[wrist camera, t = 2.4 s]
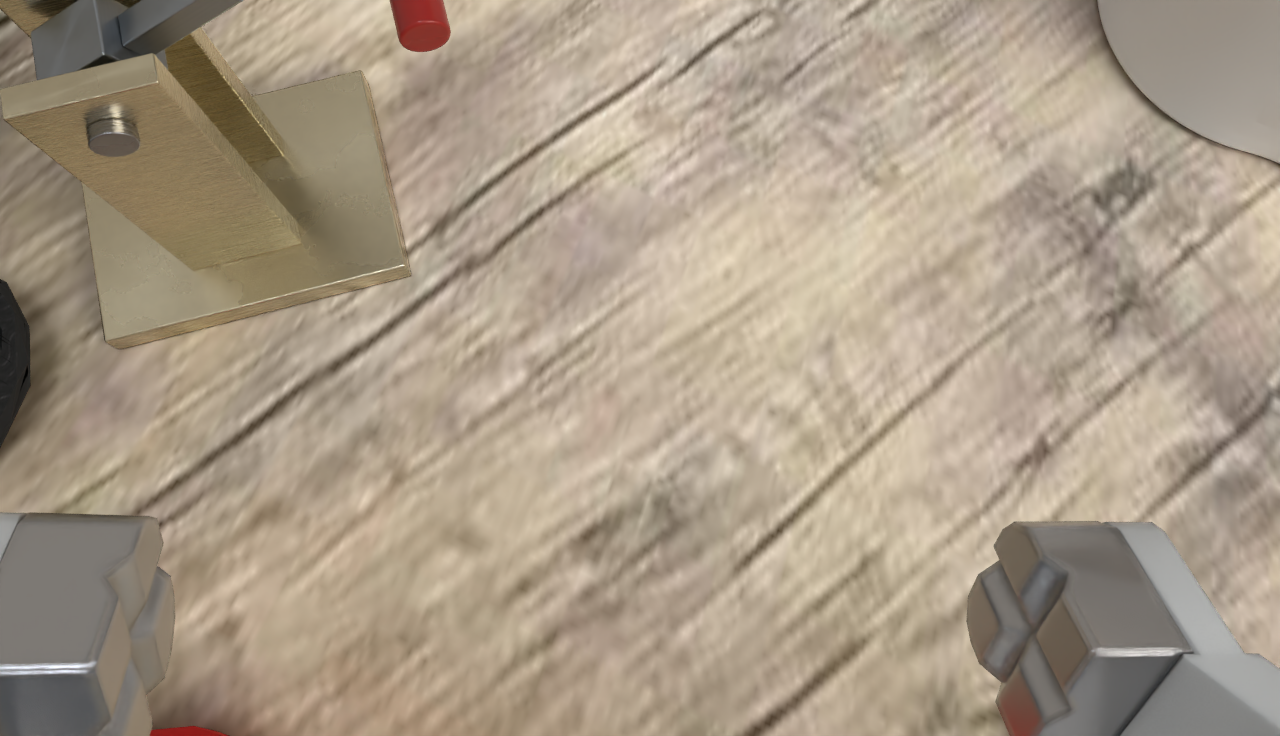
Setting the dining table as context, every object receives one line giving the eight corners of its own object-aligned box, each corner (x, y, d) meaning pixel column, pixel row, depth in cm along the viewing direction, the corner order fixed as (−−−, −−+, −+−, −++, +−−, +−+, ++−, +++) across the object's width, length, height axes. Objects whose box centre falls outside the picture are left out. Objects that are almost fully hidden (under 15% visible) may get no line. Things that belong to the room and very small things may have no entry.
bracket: (368, 83, 45) (249, -151, 32) (412, 276, 43) (303, 112, 29) (89, 151, 44) (-154, -59, 31) (118, 350, 42) (-129, 217, 29)
